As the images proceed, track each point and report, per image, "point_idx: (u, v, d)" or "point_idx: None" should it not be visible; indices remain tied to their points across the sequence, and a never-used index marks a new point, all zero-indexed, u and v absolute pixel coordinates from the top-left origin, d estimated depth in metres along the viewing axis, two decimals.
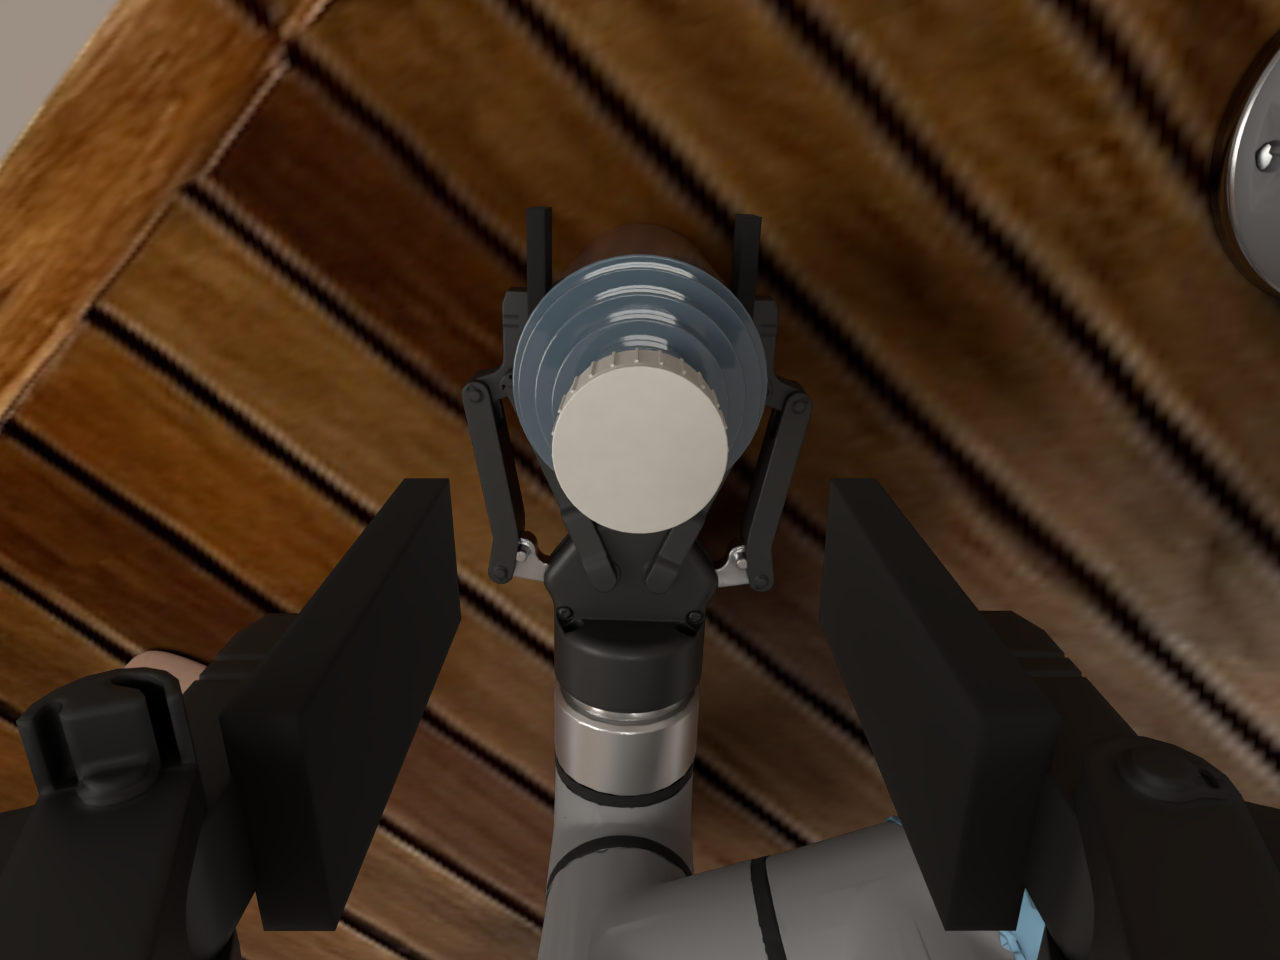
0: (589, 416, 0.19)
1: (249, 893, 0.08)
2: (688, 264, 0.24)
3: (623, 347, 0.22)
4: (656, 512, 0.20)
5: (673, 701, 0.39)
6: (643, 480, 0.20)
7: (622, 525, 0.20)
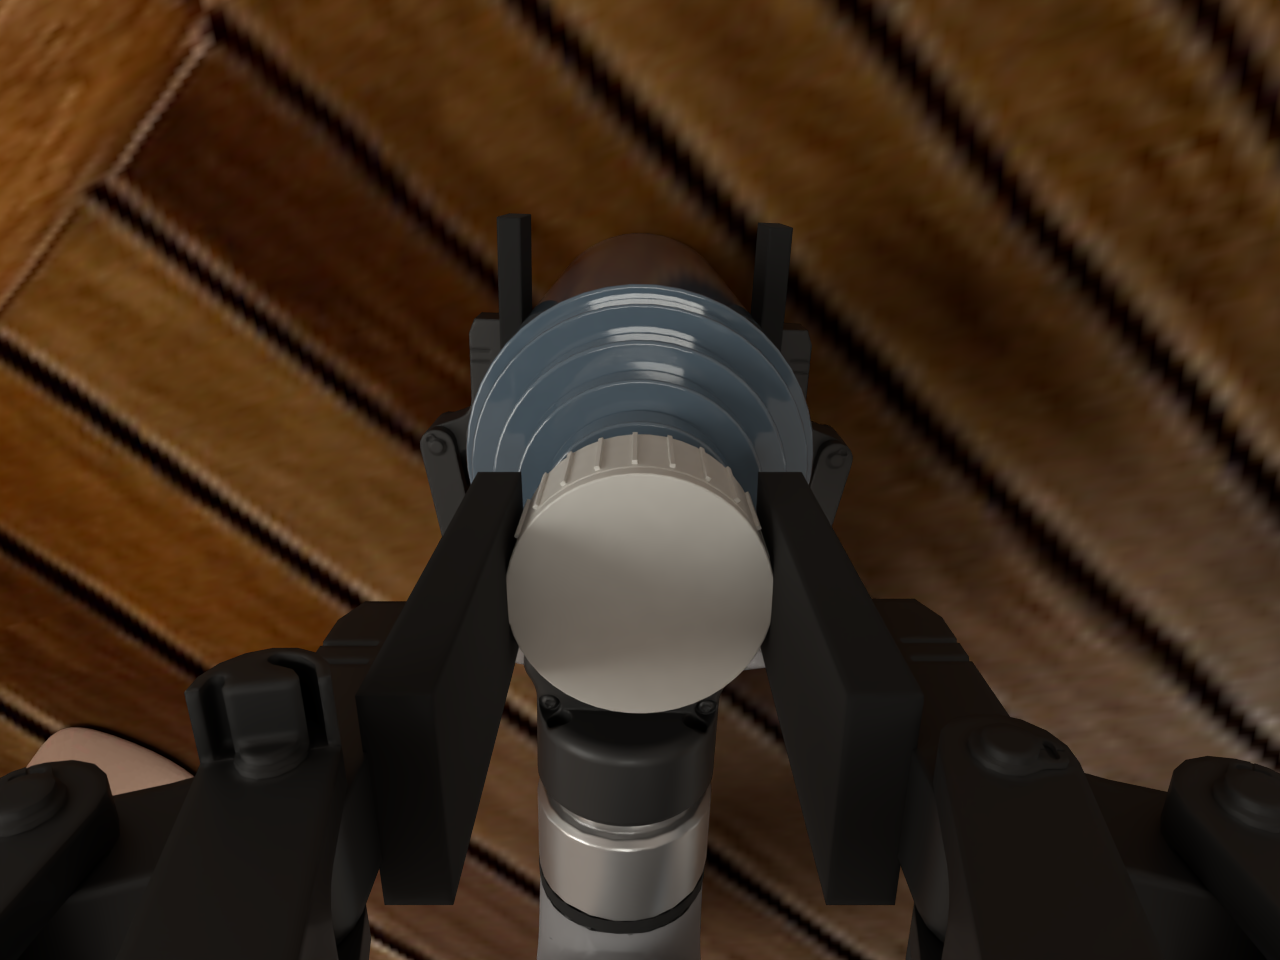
0: (561, 547, 0.12)
1: (377, 868, 0.09)
2: (706, 298, 0.18)
3: (615, 423, 0.15)
4: (664, 684, 0.13)
5: (680, 810, 0.32)
6: (645, 638, 0.13)
7: (613, 702, 0.13)
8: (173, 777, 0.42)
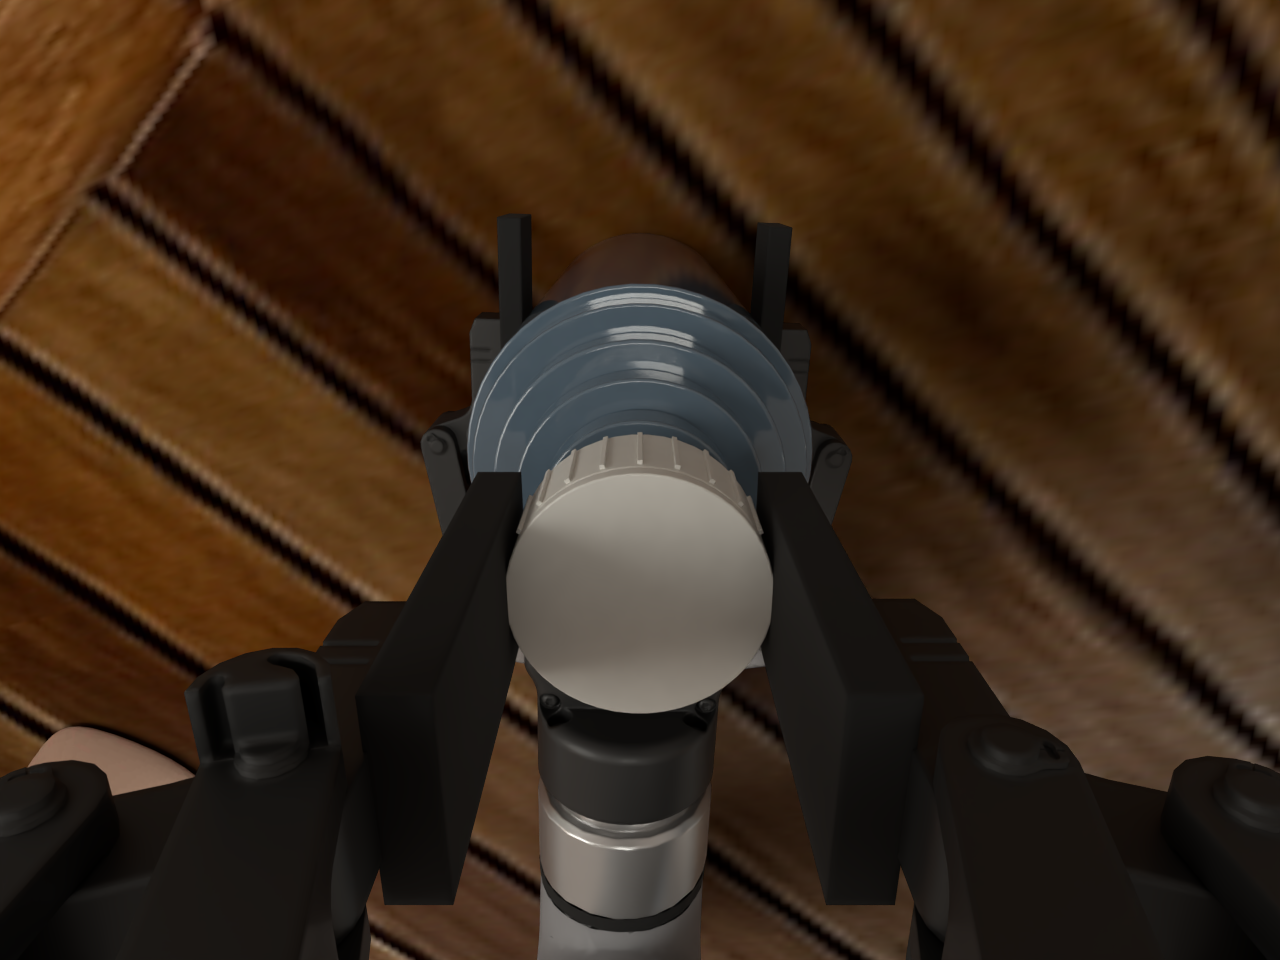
0: (566, 652, 0.13)
1: (376, 868, 0.09)
2: (706, 297, 0.18)
3: (615, 422, 0.15)
4: (741, 599, 0.13)
5: (680, 809, 0.32)
6: (682, 605, 0.13)
7: (747, 649, 0.13)
8: (174, 776, 0.42)
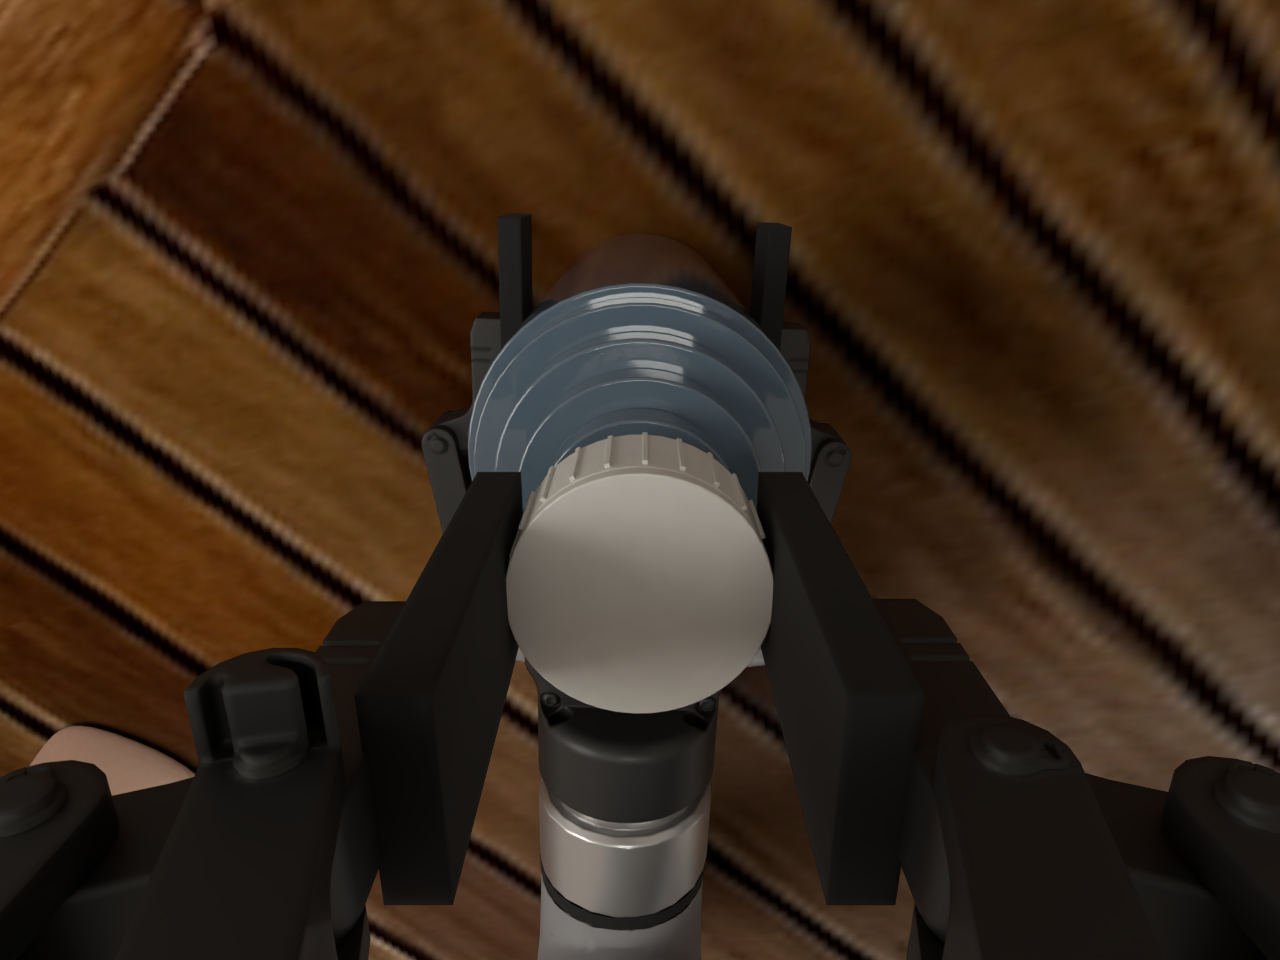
0: (678, 675, 0.13)
1: (376, 868, 0.09)
2: (705, 297, 0.18)
3: (615, 421, 0.15)
4: (663, 509, 0.12)
5: (680, 807, 0.32)
6: (655, 564, 0.12)
7: (723, 514, 0.12)
8: (176, 775, 0.42)
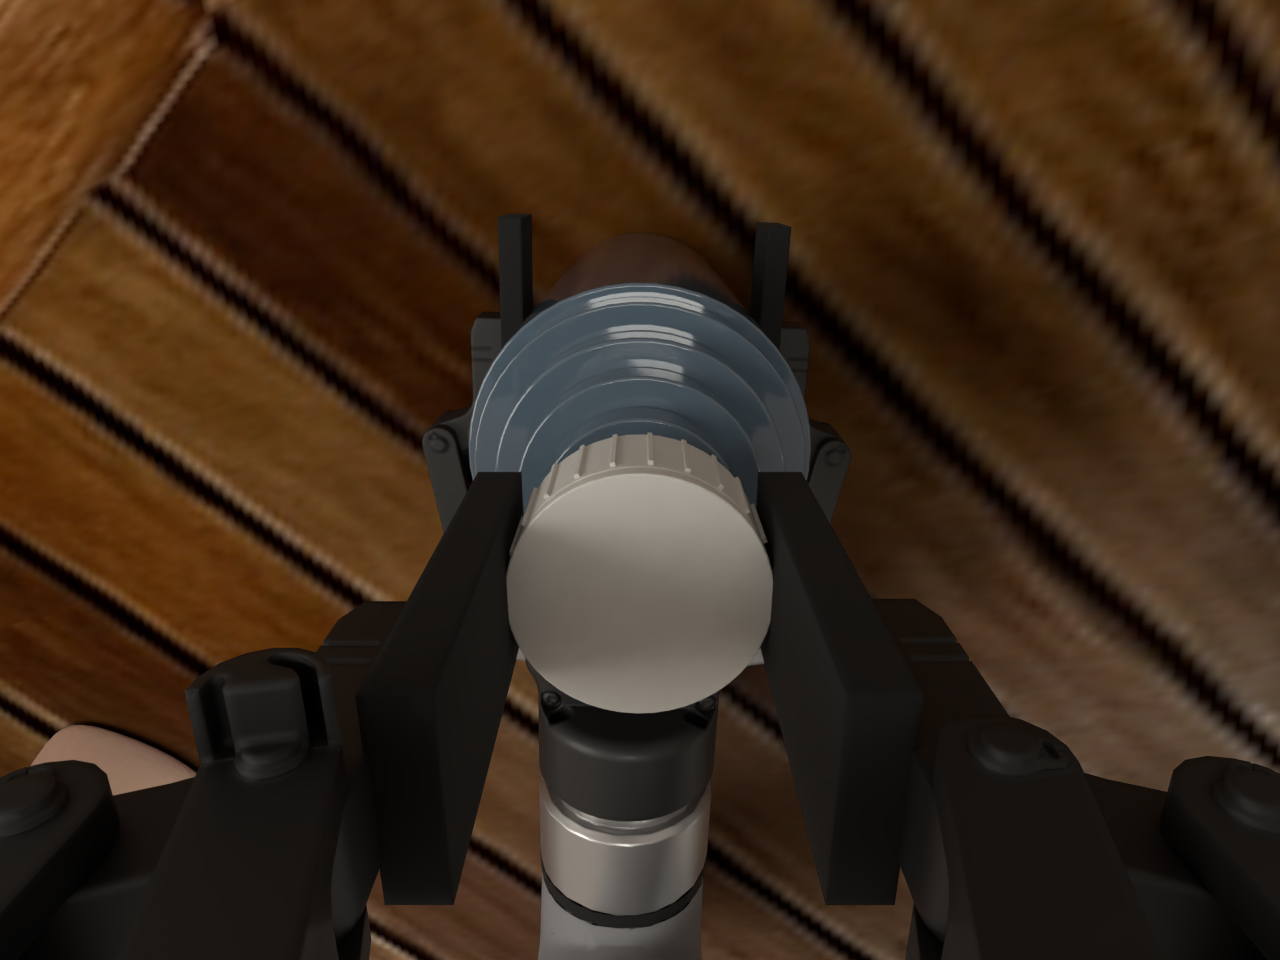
0: (734, 585, 0.13)
1: (377, 867, 0.09)
2: (705, 296, 0.18)
3: (615, 419, 0.15)
4: (547, 559, 0.12)
5: (680, 806, 0.33)
6: (603, 578, 0.12)
7: (565, 507, 0.12)
8: (177, 774, 0.42)
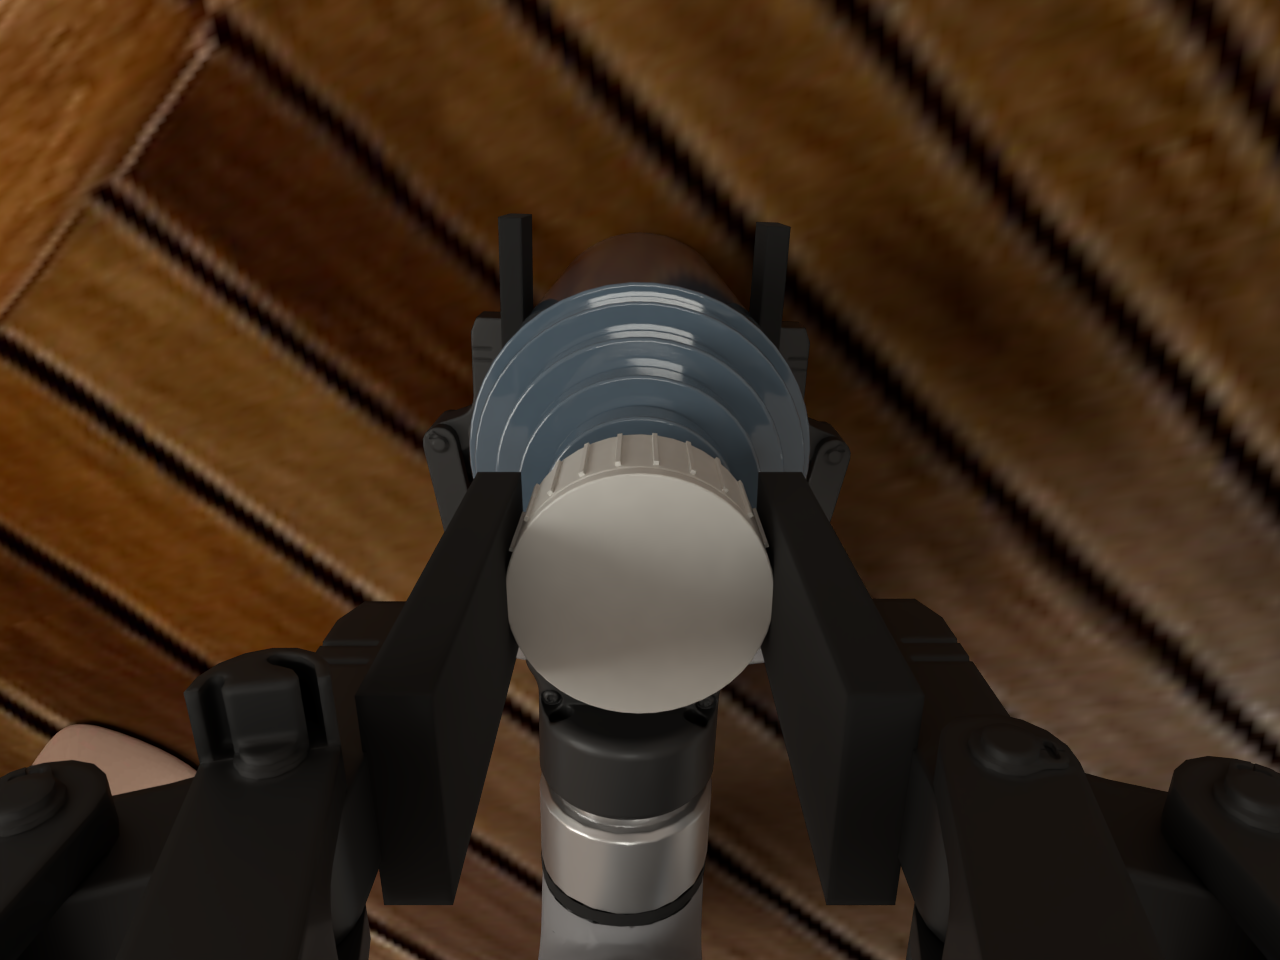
0: (645, 512, 0.12)
1: (376, 868, 0.09)
2: (705, 295, 0.18)
3: (616, 418, 0.15)
4: (575, 666, 0.13)
5: (681, 804, 0.33)
6: (607, 626, 0.13)
7: (526, 639, 0.13)
8: (178, 773, 0.43)
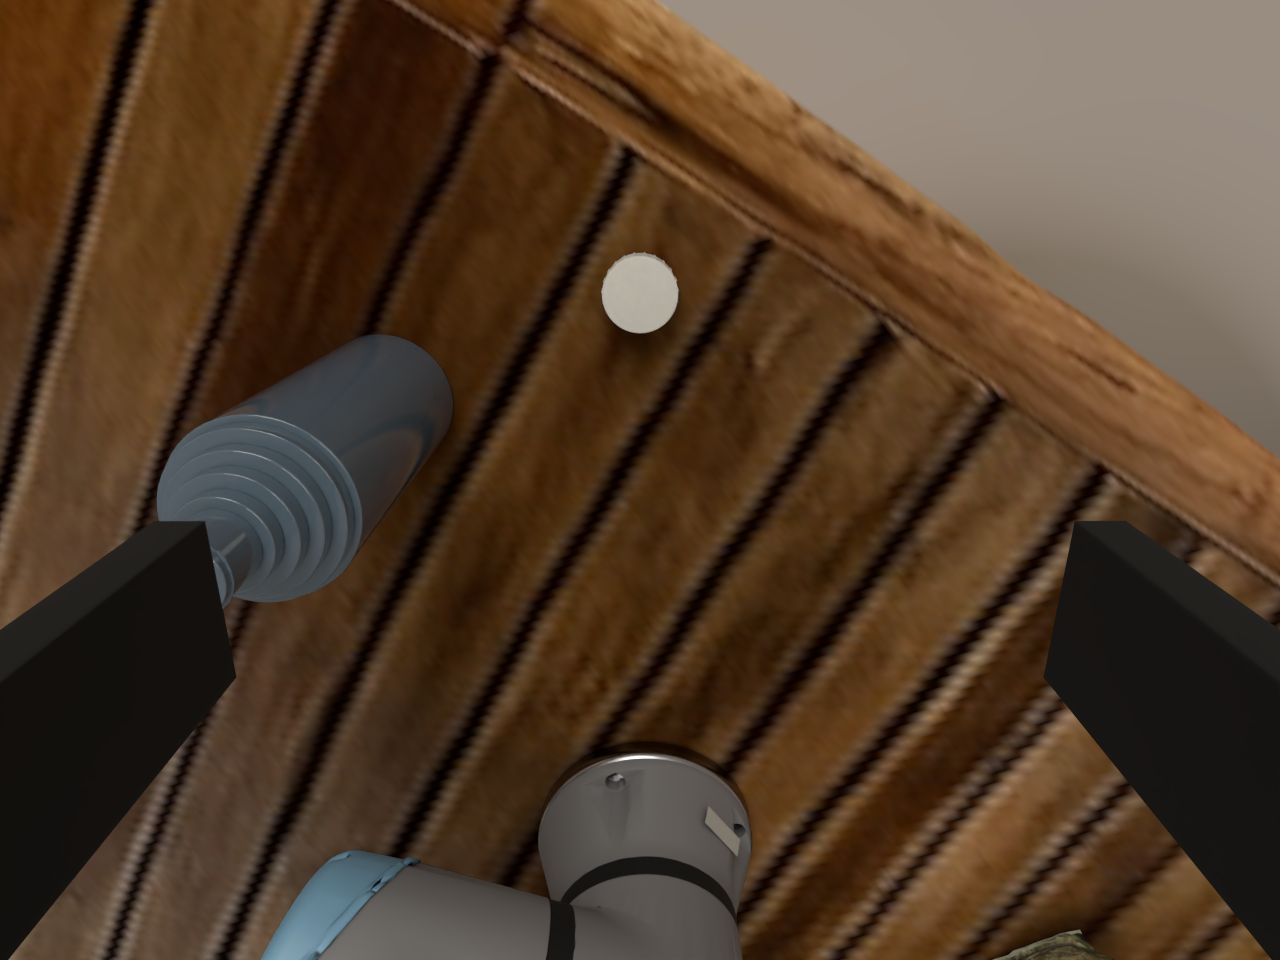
0: (641, 267, 0.44)
1: None
2: (361, 522, 0.33)
3: (265, 523, 0.29)
4: (621, 317, 0.45)
5: None
6: (630, 303, 0.45)
7: (607, 308, 0.45)
8: None
